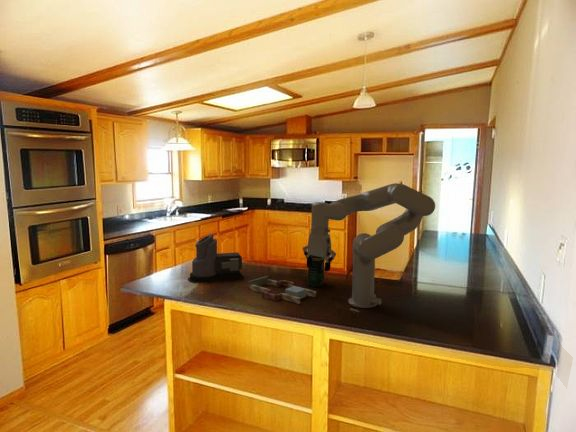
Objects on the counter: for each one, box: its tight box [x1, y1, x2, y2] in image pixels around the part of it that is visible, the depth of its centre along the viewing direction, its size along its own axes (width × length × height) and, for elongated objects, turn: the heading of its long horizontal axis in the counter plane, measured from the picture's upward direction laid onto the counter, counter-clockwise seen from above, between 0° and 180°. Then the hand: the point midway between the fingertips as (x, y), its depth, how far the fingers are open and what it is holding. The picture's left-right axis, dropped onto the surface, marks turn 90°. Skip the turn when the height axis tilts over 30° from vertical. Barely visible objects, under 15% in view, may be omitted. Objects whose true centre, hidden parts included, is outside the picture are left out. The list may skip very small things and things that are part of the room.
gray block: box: [284, 285, 307, 300], centre depth 180 cm, size 7×7×4 cm
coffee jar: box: [307, 256, 326, 288], centre depth 198 cm, size 10×8×19 cm
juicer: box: [187, 233, 245, 284], centre depth 208 cm, size 30×16×24 cm, turn 107°
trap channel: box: [247, 275, 317, 305], centre depth 186 cm, size 32×21×4 cm
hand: (318, 268), depth 170 cm, fingers open, 9 cm apart
